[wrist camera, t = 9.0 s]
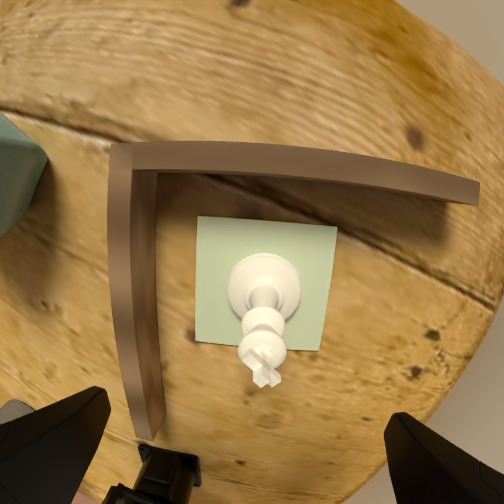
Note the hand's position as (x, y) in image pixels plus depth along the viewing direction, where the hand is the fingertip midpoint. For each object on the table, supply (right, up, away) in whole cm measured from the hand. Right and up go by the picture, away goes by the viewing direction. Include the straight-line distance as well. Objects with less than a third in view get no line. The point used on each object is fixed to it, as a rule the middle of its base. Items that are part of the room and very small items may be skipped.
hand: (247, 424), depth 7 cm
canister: (-30, -20, +19) cm, 40 cm away
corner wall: (+3, 0, +12) cm, 13 cm away
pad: (+1, +3, +12) cm, 12 cm away
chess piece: (+1, +3, +12) cm, 12 cm away
